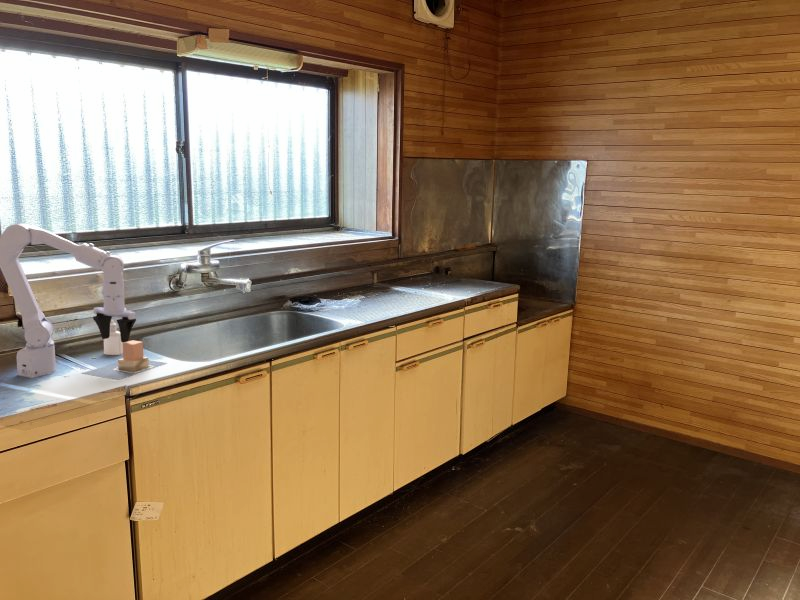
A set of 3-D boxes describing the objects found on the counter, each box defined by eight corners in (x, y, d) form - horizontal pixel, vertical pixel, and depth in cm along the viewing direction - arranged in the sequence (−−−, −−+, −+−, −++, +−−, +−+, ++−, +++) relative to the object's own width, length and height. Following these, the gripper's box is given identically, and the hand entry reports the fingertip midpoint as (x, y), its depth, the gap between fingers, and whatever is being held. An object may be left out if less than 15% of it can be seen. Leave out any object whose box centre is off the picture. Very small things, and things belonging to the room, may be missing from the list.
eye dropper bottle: (113, 358, 205) (111, 322, 203) (102, 355, 208) (100, 319, 206) (125, 355, 209) (123, 320, 207) (114, 353, 212) (112, 317, 210)
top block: (133, 360, 190) (133, 344, 189) (123, 359, 191) (122, 343, 191) (143, 357, 194) (142, 341, 193) (133, 356, 195) (132, 340, 194)
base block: (134, 371, 189) (133, 362, 189) (118, 369, 191) (118, 359, 191) (148, 366, 195) (148, 357, 194) (133, 364, 197) (133, 355, 196)
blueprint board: (118, 382, 181) (118, 379, 181) (81, 375, 186) (81, 372, 186) (167, 365, 200) (167, 362, 200) (132, 359, 205) (132, 357, 204)
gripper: (142, 296, 191) (143, 340, 193) (106, 291, 196) (107, 334, 198) (124, 299, 184) (126, 345, 187) (87, 294, 190) (88, 338, 192)
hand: (115, 340), depth 192 cm, fingers open, 7 cm apart
